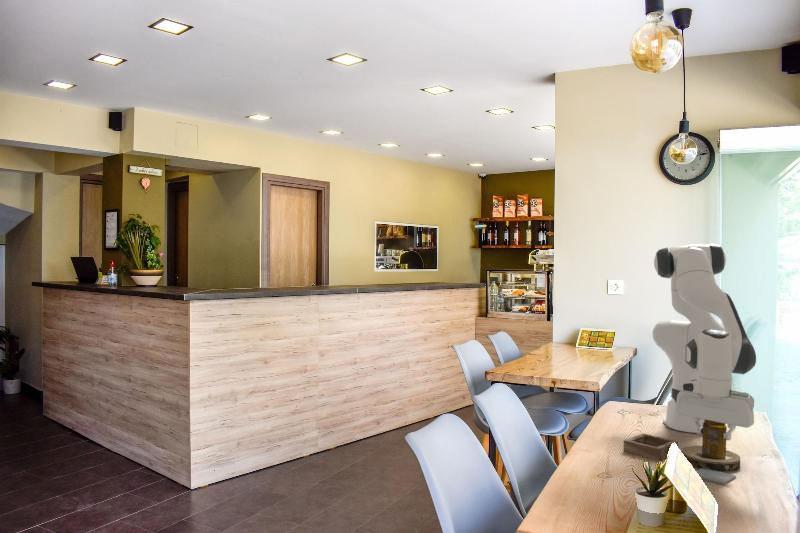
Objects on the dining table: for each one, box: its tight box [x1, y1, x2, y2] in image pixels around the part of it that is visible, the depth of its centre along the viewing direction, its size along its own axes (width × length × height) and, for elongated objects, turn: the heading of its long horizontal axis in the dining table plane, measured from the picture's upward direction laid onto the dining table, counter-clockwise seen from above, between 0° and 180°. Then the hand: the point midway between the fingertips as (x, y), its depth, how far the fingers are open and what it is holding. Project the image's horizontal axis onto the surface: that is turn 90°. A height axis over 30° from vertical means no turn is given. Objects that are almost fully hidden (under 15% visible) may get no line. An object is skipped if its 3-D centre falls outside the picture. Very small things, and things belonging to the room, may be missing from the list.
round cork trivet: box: [681, 445, 741, 473], centre depth 190 cm, size 16×16×3 cm
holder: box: [623, 433, 679, 461], centre depth 200 cm, size 13×12×4 cm
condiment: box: [691, 420, 731, 462], centre depth 177 cm, size 7×8×12 cm
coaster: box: [696, 467, 737, 486], centre depth 177 cm, size 9×9×1 cm
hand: (713, 436), depth 177 cm, fingers closed on condiment, 6 cm apart
